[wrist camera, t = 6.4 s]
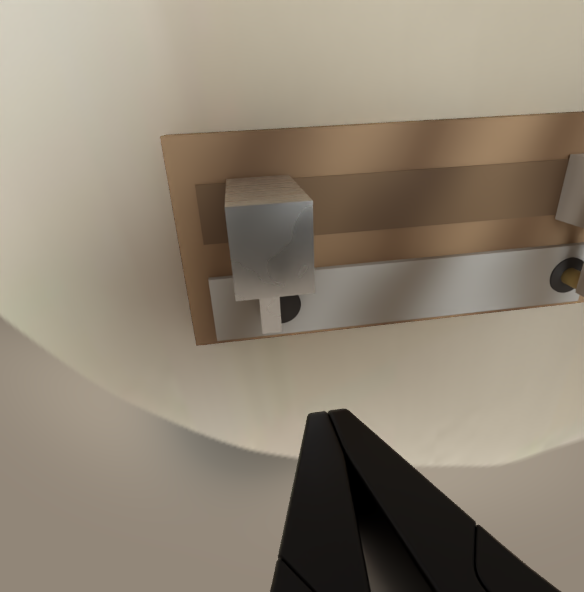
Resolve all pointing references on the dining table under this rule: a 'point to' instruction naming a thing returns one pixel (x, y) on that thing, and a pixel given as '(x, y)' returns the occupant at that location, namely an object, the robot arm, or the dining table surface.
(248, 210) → the block
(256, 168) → the board
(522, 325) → the dining table surface
